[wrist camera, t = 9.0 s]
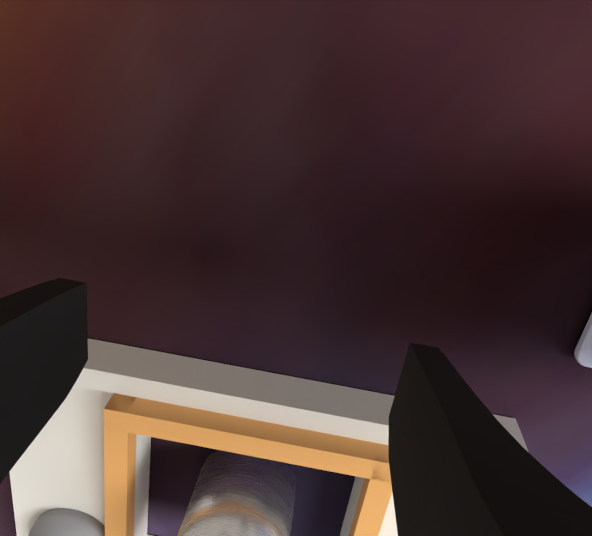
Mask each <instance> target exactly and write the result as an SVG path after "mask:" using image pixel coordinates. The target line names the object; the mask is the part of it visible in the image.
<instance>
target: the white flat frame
mask: <svg viewBox="0 0 592 536" xmlns="http://www.w3.org/2000/svg"><path fill="white" fill-rule="evenodd" d="M394 397H395V396H393V395H388V394H382V393H377V392H372V391H366V390H361V389H356V388H350V387H345V386H340V385H334V384H329V383H324V382H318V381H313V380H308V379H302V378H297V377H292V376H286V375H281V374H276V373H270V372H265V371H260V370H254V369H249V368H244V367H238V366H233V365H228V364H222V363H217V362H212V361H206V360H201V359H196V358H190V357H185V356H180V355H174V354H169V353H164V352H158V351H153V350H148V349H142V348H137V347H132V346H126V345H121V344H116V343H110V342H105V341H100V340H94V339H89V338H88V361H87V362H86V364H85V366H84V368H83V370H82V372H81V373H80V375H79V377H78V379H77V381H76V382H75V384H74V386H73V387H72V389H71V391H70V393H69V394H68V396H67V397H66V399H65V400H64V401H63V403H62V404H61V405H60V407H59V408H58V409H57V411H56V412H55V413H54V415H53V416H52V417H51V419H50V420H49V421H48V423H47V424H46V425H45V426H44V428H43V429H42V430H41V432H40V433H39V434H38V435H37V437H36V438H35V439H34V441H33V442H32V443H31V444H30V446H29V447H28V448H27V450H26V451H25V452H24V453H23V455H22V456H21V457H20V459H19V460H18V461H17V462H16V464H15V465H14V466H13V468H12V469H11V470H10V471H9V472H10V481H11V489H12V498H13V507H14V516H15V525H16V533H17V536H153V535H148V534H147V522H148V498H149V474H150V450H151V437H154V438H160V439H165V440H170V441H175V442H180V443H186V444H191V445H196V446H201V447H206V448H211V449H217V450H222V451H227V452H232V453H237V454H243V455H248V456H253V457H258V458H263V459H269V460H274V461H279V462H284V463H289V464H295V465H300V466H305V467H310V468H315V469H320V470H326V471H331V472H336V473H341V474H346V475H352V476H356V477H355V480H354V484H353V488H352V491H351V495H350V499H349V502H348V506H347V510H346V513H345V517H344V521H343V524H342V528H341V532H340V536H398V533H397V525H396V516H395V509H394V501H393V493H392V484H391V476H390V467H389V458H388V436H389V414H390V410H391V407H392V403H393V400H394ZM493 416H494V417H495V418H496V419H497V420H498V421H499V422H500V423H501V424H502V426H503V427H504V428H505V429H506V430H507V431H508V432H509V433H510V434H511V435H512V436H513V437H514V438H515V439H516V440H517V441H518V442H519V443H520V445H521V446H522V447H523V448H524V449H525V450H526V451H528V450H527V447H526V444H525V442H524V439H523V437H522V434H521V432H520V429H519V427H518V424H517V422H516V419H515V418H510V417H505V416H499V415H494V414H493Z"/></svg>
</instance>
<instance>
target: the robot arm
mask: <svg viewBox="0 0 592 536" xmlns="http://www.w3.org/2000/svg"><path fill="white" fill-rule="evenodd" d="M574 355H575V358H576V360H577V361H578V363H579V364H581V365H582V366H585V367H590V368H592V313H591V315H590V317H589V320H588V322H587V324H586V326H585V329H584V331H583V333H582V335H581V337H580V340H579V342H578V344H577V346H576V348H575V352H574ZM87 361H88V331H87V289H86V283H83V282H78V281H73V280H67V279H62V278H58V279H54V280H51V281H47V282H44V283H41V284H38V285H36V286H33V287H30V288H27V289H24V290H22V291H19V292H16V293H14V294H11V295H8V296H6V297H3V298H0V484H1V482H2V481H3V479H4V478H5V477H6V475H7V474H8V473H9V471H10V470H11V469H12V468H13V466H14V465H15V464H16V462H17V461H18V460H19V459H20V457H21V456H22V455H23V453H24V452H25V451H26V450H27V448H28V447H29V446H30V444H31V443H32V442H33V441H34V439H35V438H36V437H37V435H38V434H39V433H40V432H41V430H42V429H43V428H44V426H45V425H46V424H47V423H48V421H49V420H50V419H51V417H52V416H53V415H54V413H55V412H56V411H57V409H58V408H59V407H60V405H61V404H62V403H63V401H64V400H65V399H66V397H67V396H68V394H69V393H70V391H71V389H72V387H73V386H74V384H75V382H76V381H77V379H78V377H79V375H80V373H81V372H82V370H83V368H84V366H85V364H86V362H87ZM388 458H389V467H390V476H391V484H392V493H393V501H394V509H395V516H396V525H397V533H398V536H592V507H591V506H589V505H588V504H587V503H585V502H584V501H583V500H582V499H580V498H579V497H578V496H577V495H575V494H574V493H573V492H572V491H571V490H569V489H568V488H567V487H566V486H565V485H563V484H562V483H561V482H560V481H559V480H558V479H557V478H556V477H555V476H553V475H552V474H551V473H550V472H549V471H548V470H547V469H546V468H545V467H544V466H542V465H541V464H540V463H539V462H538V461H537V460H536V459H535V458H534V457H533V456H532V455H531V454H530V453H529V452H528V451H526V450H525V449H524V448H523V447H522V446H521V445H520V443H519V442H518V441H517V440H516V439H515V438H514V437H513V436H512V435H511V434H510V433H509V432H508V431H507V430H506V429H505V428H504V427H503V426H502V424H501V423H500V422H499V421H498V420H497V419H496V418H495V417H494V416H493V414H492V413H491V412H490V411H489V410H488V409H487V407H486V406H485V405H484V404H483V403H482V402H481V400H480V399H479V398H478V397H477V396H476V394H475V393H474V392H473V391H472V389H471V388H470V387H469V386H468V385H467V383H466V382H465V381H464V380H463V378H462V377H461V376H460V374H459V373H458V372H457V371H456V369H455V368H454V367H453V366H452V364H451V363H450V362H449V360H448V359H447V358H446V357H445V355H444V354H443V353H442V352H441V351H440V350H439V348H436V347H430V346H425V345H419V344H414V343H410V345H409V348H408V352H407V355H406V359H405V362H404V365H403V369H402V372H401V376H400V379H399V383H398V386H397V390H396V393H395V397H394V400H393V403H392V407H391V410H390V414H389V436H388Z"/></svg>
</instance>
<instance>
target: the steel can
mask: <svg viewBox="0 0 592 536" xmlns="http://www.w3.org/2000/svg"><path fill="white" fill-rule="evenodd" d="M296 489H297V484H296V478H295V476H294V473H293V471H292V469H291V468H290V467H289V465H288V464H287V463H284V462H279V461H274V460H269V459H263V458H258V457H253V456H248V455H243V454H237V453H232V452H227V451H222V450H216V451H215V452H213V453H212V454H211V455H210V456H209V457H208V458H207V459H206V460H205V462H204V464H203V466H202V469H201V471H200V474H199V477H198V480H197V483H196V485H195V488H194V491H193V494H192V497H191V499H190V502H189V505H188V508H187V511H186V513H185V516H184V519H183V522H182V525H181V527H180V530H179V533H178V536H290V532H291V525H292V518H293V510H294V503H295V496H296Z"/></svg>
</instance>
